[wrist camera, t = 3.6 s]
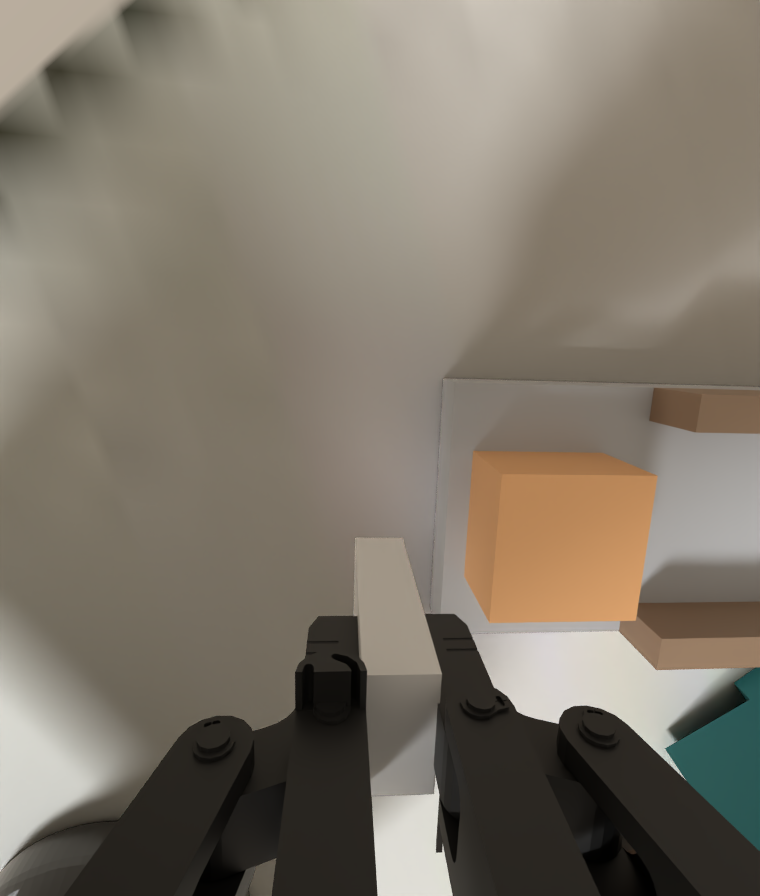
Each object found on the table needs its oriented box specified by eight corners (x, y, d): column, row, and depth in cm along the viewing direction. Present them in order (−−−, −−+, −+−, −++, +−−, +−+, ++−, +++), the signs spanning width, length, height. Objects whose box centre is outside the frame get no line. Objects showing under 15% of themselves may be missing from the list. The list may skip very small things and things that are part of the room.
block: (463, 576, 23) (489, 623, 19) (473, 450, 22) (501, 474, 18) (587, 575, 24) (635, 620, 20) (602, 452, 23) (657, 475, 19)
